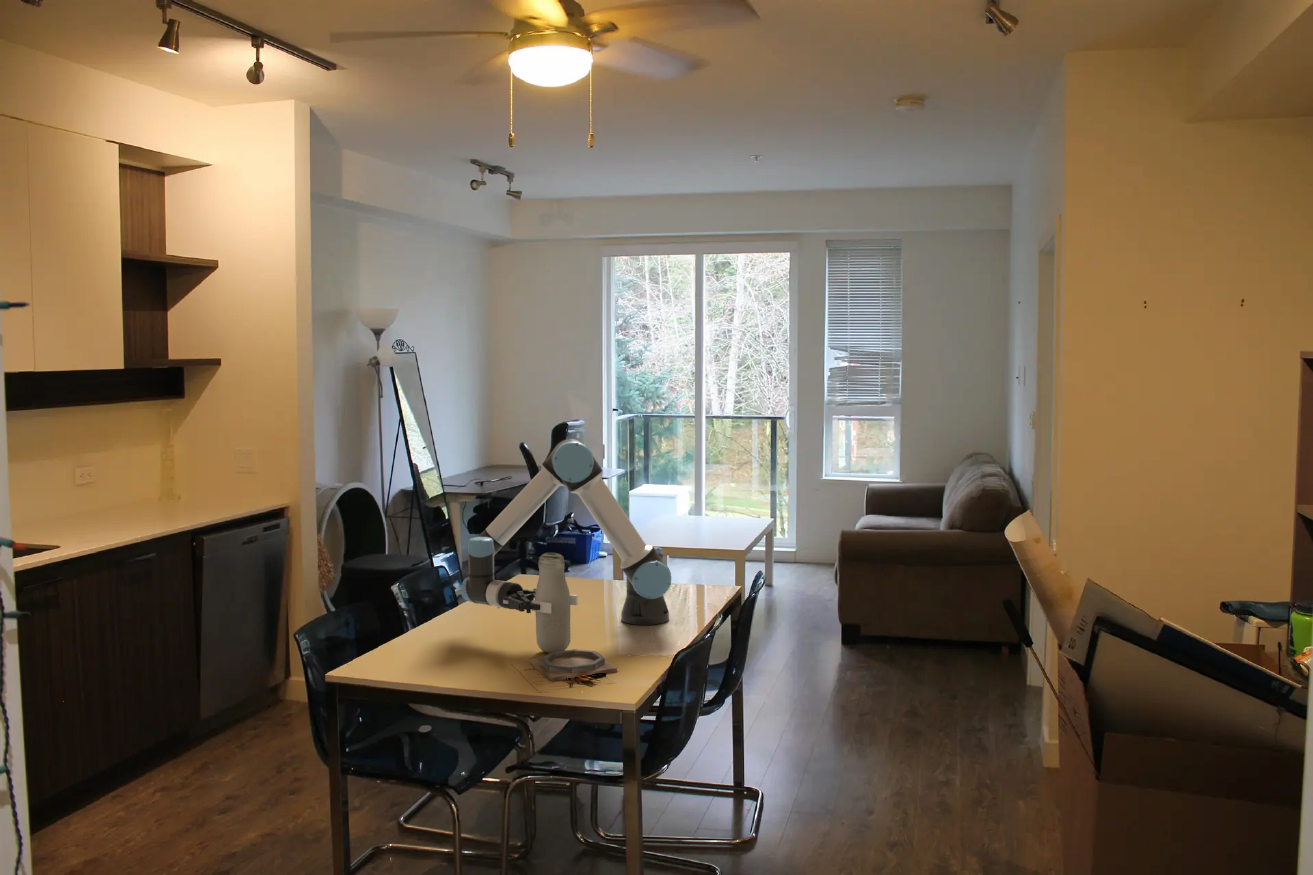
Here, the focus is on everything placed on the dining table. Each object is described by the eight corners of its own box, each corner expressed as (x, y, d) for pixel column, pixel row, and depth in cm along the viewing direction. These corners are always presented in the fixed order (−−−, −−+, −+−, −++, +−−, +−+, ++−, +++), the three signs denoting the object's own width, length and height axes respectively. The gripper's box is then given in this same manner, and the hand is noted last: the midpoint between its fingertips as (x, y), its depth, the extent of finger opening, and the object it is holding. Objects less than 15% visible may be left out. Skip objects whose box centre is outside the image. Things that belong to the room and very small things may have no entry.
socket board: (592, 654, 272) (592, 645, 272) (617, 671, 256) (617, 662, 255) (530, 662, 264) (529, 653, 264) (551, 681, 248) (551, 671, 248)
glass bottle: (568, 645, 281) (567, 548, 279) (573, 655, 271) (571, 555, 269) (533, 648, 278) (532, 550, 277) (537, 658, 268) (535, 557, 267)
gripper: (532, 599, 294) (590, 609, 281) (477, 615, 275) (535, 626, 262) (532, 575, 293) (589, 583, 280) (476, 589, 274) (535, 598, 262)
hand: (563, 604), depth 271 cm, fingers closed on glass bottle, 10 cm apart
